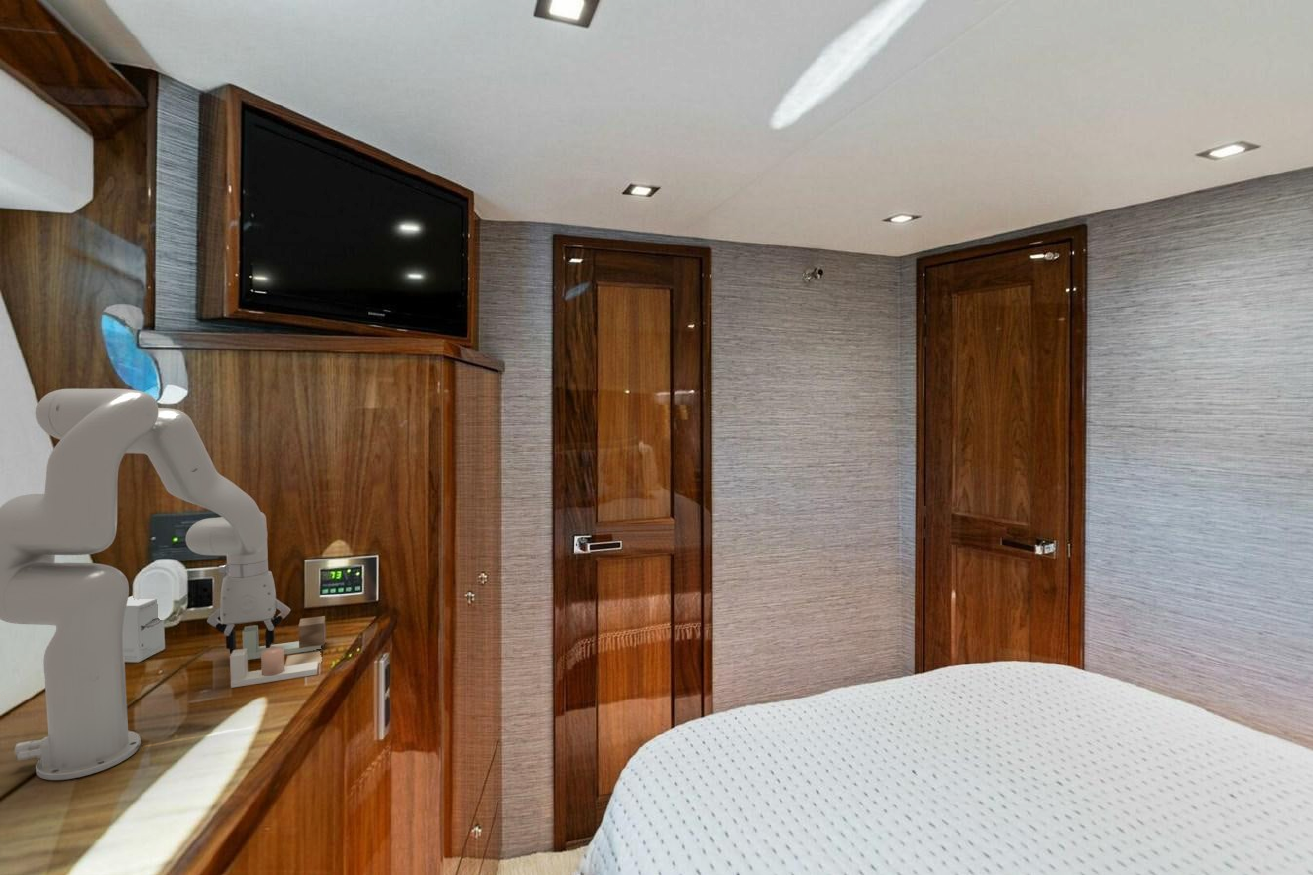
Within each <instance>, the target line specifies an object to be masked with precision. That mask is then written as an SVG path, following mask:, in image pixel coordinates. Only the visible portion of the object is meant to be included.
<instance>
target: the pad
mask: <svg viewBox="0 0 1313 875" xmlns="http://www.w3.org/2000/svg"><path fill="white" fill-rule="evenodd" d="M320 651H321V650H320ZM320 651H319V650H317V651H310V652H303V653H296V654H292V655H291V654H289V655H287V656H286V660H285V662H284V666H291V665H297V664H304V663H311V662H318V665H321V664H322V663H321V662H323V657H321V655H320V654H321V653H320ZM320 663H321V664H320Z"/></svg>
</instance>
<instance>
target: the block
mask: <svg viewBox="0 0 1313 875" xmlns="http://www.w3.org/2000/svg"><path fill="white" fill-rule="evenodd" d="M326 632H327V631H326V616H325V615H322V616H314V617H306V618H305V617H304V618H300V619H299V623H298V641H299V648H304V647H311V646H319V645H322V646H324V645H325V643H326V638H327V636H326Z"/></svg>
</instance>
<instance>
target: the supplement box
mask: <svg viewBox="0 0 1313 875" xmlns="http://www.w3.org/2000/svg"><path fill="white" fill-rule="evenodd" d="M133 596H134V595H131V596H128V601H127V606H126V611H125V617H124V627H123V643H124V661H125V663H141V662H142V661H145V660H146V659H147V658H151V657H152V656H153V655H156V654H158V653H160V652H162V651H164V650H166V638H165V637H166V635H165V634H166V633H165V632H166V631H165V619H164V620H160V619H159V618H158V604H157V599H139V600H137V599H135V600H134V598H133Z"/></svg>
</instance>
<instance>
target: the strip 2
mask: <svg viewBox="0 0 1313 875" xmlns="http://www.w3.org/2000/svg"><path fill="white" fill-rule="evenodd" d="M229 665H230V666H229V667H230V670H229V671H230V688H231V689H232V688H239V687H240V688H241V687H246V686H253V685H257V684H264V683H272V682H279V681H283V680H285V681H286V680H290V679H291V680H292V679H298V678H304V677H310V676H316V675H318V671H319V664H318V662H311V663H304V664H297V665H291V666H285V665H284V671H283V672H282V673H280V674H277V675H273V676H263V675H262V669H257V670H250V671H249V660H248V654H247V648H246V649H243V648H240V649H239V648H238V649H235V650H233V652H232V654H230V656H229Z"/></svg>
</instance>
